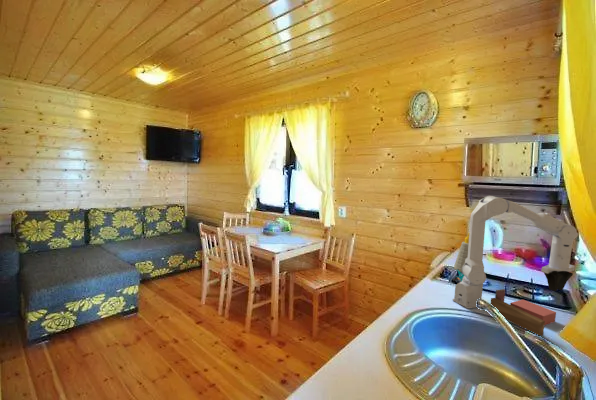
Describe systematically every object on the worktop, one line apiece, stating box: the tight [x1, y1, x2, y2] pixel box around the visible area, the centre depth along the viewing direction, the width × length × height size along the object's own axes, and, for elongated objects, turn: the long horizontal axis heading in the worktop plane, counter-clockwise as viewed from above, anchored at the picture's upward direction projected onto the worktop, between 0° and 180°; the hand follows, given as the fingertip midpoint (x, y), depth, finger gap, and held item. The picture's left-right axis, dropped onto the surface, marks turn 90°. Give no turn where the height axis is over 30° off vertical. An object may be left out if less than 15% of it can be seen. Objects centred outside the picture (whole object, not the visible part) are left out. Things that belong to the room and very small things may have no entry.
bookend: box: [494, 288, 506, 302], centre depth 116 cm, size 4×1×8 cm, turn 107°
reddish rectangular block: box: [509, 299, 557, 326], centre depth 112 cm, size 8×11×4 cm
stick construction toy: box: [452, 269, 464, 282], centre depth 144 cm, size 12×7×8 cm
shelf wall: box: [489, 297, 545, 337], centre depth 107 cm, size 2×18×5 cm, turn 17°
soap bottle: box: [453, 232, 469, 273], centre depth 161 cm, size 12×12×20 cm
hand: (555, 289), depth 114 cm, fingers open, 3 cm apart
